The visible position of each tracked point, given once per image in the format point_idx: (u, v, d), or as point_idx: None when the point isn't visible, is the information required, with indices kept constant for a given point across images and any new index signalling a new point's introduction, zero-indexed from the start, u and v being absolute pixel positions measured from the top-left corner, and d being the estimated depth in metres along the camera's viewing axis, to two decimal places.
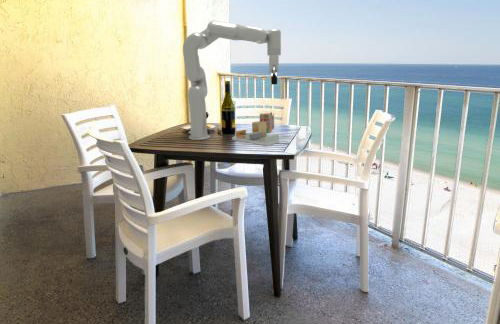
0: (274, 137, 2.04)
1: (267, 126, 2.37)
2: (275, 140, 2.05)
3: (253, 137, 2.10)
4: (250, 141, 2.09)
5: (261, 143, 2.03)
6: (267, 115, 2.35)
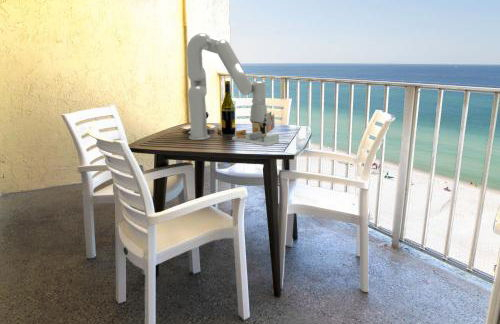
0: (274, 137, 2.04)
1: None
2: (275, 140, 2.05)
3: (253, 137, 2.10)
4: (250, 141, 2.09)
5: (261, 143, 2.03)
6: None
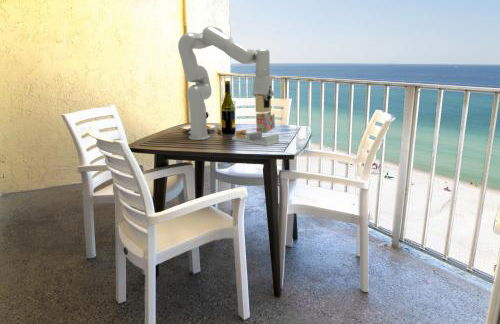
0: (274, 137, 2.04)
1: (263, 126, 2.38)
2: (275, 140, 2.05)
3: (253, 137, 2.10)
4: (250, 141, 2.09)
5: (261, 143, 2.03)
6: (263, 115, 2.36)
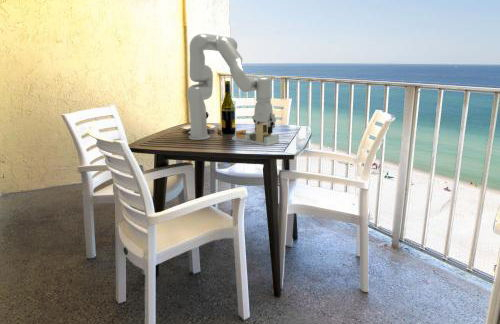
0: (274, 137, 2.04)
1: None
2: (275, 140, 2.05)
3: (253, 137, 2.10)
4: (250, 141, 2.09)
5: (261, 143, 2.03)
6: None
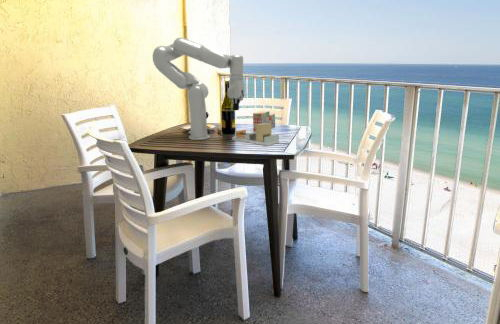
0: (274, 137, 2.04)
1: None
2: (275, 140, 2.05)
3: (253, 137, 2.10)
4: (250, 141, 2.09)
5: (261, 143, 2.03)
6: (260, 115, 2.37)
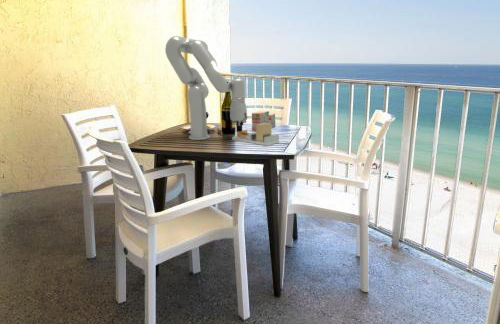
0: (274, 137, 2.04)
1: None
2: (275, 140, 2.05)
3: (254, 137, 2.10)
4: (250, 141, 2.09)
5: (261, 143, 2.03)
6: (258, 114, 2.38)
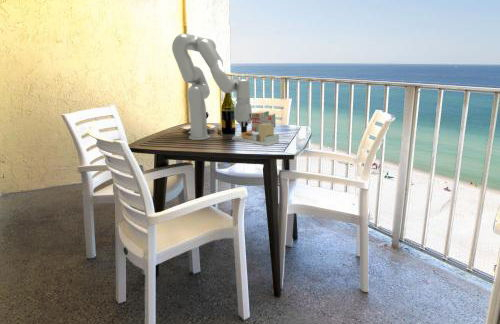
0: (274, 137, 2.04)
1: None
2: (275, 140, 2.05)
3: None
4: (250, 141, 2.09)
5: (261, 143, 2.03)
6: (258, 114, 2.38)
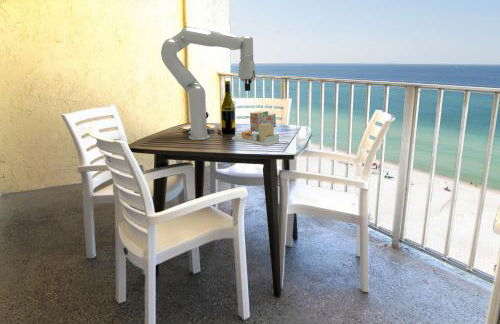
0: (274, 137, 2.04)
1: (256, 125, 2.41)
2: (275, 140, 2.05)
3: None
4: (250, 141, 2.09)
5: (261, 143, 2.03)
6: (256, 114, 2.39)
